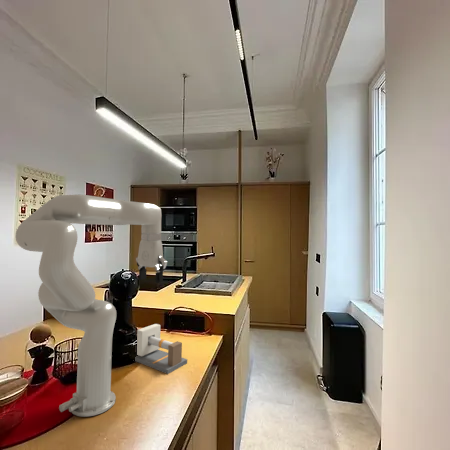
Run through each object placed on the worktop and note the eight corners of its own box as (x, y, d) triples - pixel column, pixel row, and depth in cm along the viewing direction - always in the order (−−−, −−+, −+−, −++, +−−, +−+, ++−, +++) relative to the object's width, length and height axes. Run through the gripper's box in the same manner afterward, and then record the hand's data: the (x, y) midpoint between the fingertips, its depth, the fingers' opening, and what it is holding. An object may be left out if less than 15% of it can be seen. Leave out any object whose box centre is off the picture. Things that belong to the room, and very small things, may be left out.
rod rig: (167, 374, 108) (168, 349, 108) (129, 358, 120) (129, 336, 120) (187, 363, 117) (187, 340, 117) (149, 349, 129) (149, 329, 129)
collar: (141, 356, 117) (142, 331, 117) (136, 354, 118) (137, 329, 118) (159, 348, 125) (160, 325, 125) (154, 346, 127) (155, 323, 127)
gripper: (129, 237, 117) (129, 279, 117) (159, 238, 107) (158, 285, 107) (144, 236, 123) (144, 276, 123) (173, 238, 113) (173, 282, 113)
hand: (150, 280), depth 115 cm, fingers open, 9 cm apart
